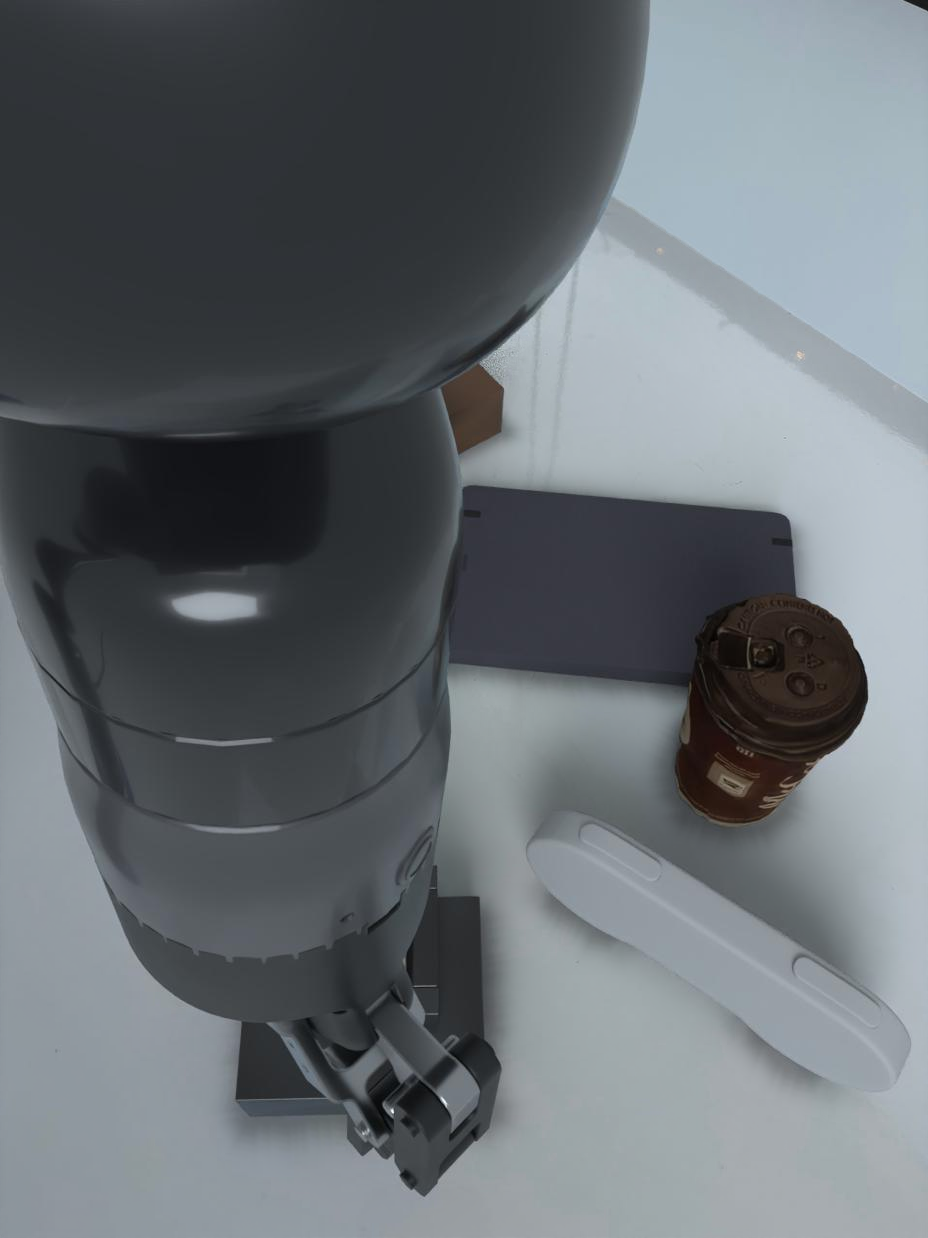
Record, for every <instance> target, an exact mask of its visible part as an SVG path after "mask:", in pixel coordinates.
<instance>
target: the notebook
mask: <svg viewBox="0 0 928 1238" xmlns="http://www.w3.org/2000/svg"><path fill="white" fill-rule="evenodd" d="M462 491H463V506H464V538H463V552H462V565H461V573H460V579H459V585H458V593H457V602H456V610H455V617H454V625H453V632H452V640H451V648H450V655H449V663H448V664H454V665H455V664H456V665H465V666H477V667H487V668H496V669H506V670H507V669H508V670H517V671H528V672H538V673H547V674H548V673H549V674H559V675H570V676H580V677H581V676H582V677H588V678H589V677H590V678H598V679H599V678H601V679H608V680H609V679H610V680H619V681H621V680H622V681H631V682H640V683H650V684H651V683H652V684H661V685H672V686H680V687H681V686H682V687H689V684H690V680H691V676H692V671H693V667H694V661H695V659H696V656H697V644H696V642H695V637H696V636H697V635H698V634H700V631H701V629H702V628H703V624H704V623H705V622H706V621H707V619H706V616H708V615H711V614H713V613H714V612H715V611H717V610H719V609H721V608H723V607H725V606H728V605H730V604H733V603H738V602H742V601H745V600H748V599H750V598H752V597H754V598H757V597H759V596H760V595H762V596H764V595H770V596H773V595H775V594H776V593H784V594H789V595H794V596H796V597H797V586H796V575H795V573H796V572H795V563H794V562H795V561H794V550H793V548H794V545H793V544H794V543H793V537H792V527H791V522H790V520H789V518H788V517H787V516H786V515H784V513H782V512H781V513H780V512H775V511H766V510H755V509H753V510H752V509H743V508H731V507H721V506H709V505H699V504H689V503H687V504H686V503H675V502H667V501H666V502H664V501H655V500H646V499H645V500H644V499H632V498H620V497H611V496H599V495H589V494H577V493H566V492H554V491H544V490H543V491H542V490H534V489H533V490H532V489H523V488H511V487H501V486H500V487H499V486H488V485H478V484H477V485H476V484H472V485H471V484H470V485H469V484H468V485H467V486H464V487H462Z"/></svg>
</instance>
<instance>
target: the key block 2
mask: <svg viewBox="0 0 928 1238" xmlns="http://www.w3.org/2000/svg"><path fill="white" fill-rule="evenodd" d="M440 388H441V392H442V395H443V399H444V402H445V405H446V409H447V412H448V416H449V420H450V424H451V427H452V431H453V434H454V439H455V443H456V447H457V452H458V455H460V454H461V453H464V452H466V451H467V450H470V449H471V448H474V447H475V446H477V445H479V444H482V443H483V442H485V441H487V440H489V439H490V438H491V439H492V437H494V436H496V435H498V434H500V433H502V427H503V424H502V423H503V412H504V411H503V410H504V396H505V388H504V387H503V385H502V384H500V383H499V382H498V381H497V379H495V377H493V375H491V373H490V372H489V371H488V370H487V369H486V368H484V367H483V366H482V364H480V363H478V364H477V365H476V366H474V367H473V368H472V369H470V370H469V371H467V372H466V373H464V374H462V375H461V376H459V377H457V378H455V379H454V380H452V381H450V382H449V383H447V384H445V385H444V386H442V387H440Z"/></svg>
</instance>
